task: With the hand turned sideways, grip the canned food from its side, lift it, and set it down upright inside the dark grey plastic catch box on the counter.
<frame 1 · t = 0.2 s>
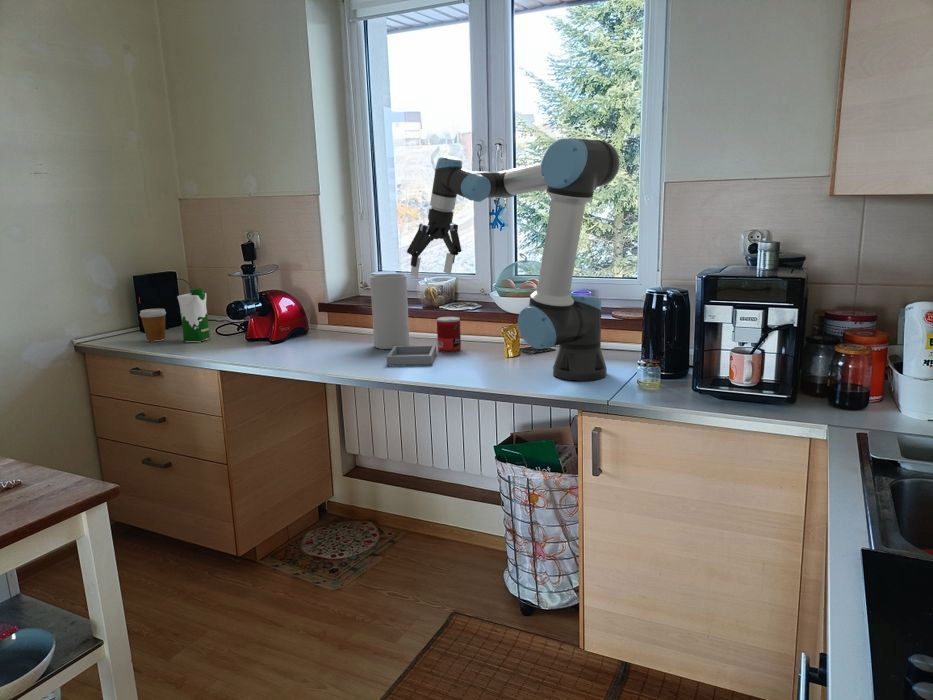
hand: (430, 274, 218), 27 cm above the countertop, tool tilted 15°, fingers open, 13 cm apart
catch box: (412, 359, 223), on the countertop
canned food: (449, 350, 236), on the countertop
disposable coffee cup: (156, 341, 268), on the countertop
milk carton: (197, 341, 266), on the countertop
cylinder vase: (391, 346, 245), on the countertop
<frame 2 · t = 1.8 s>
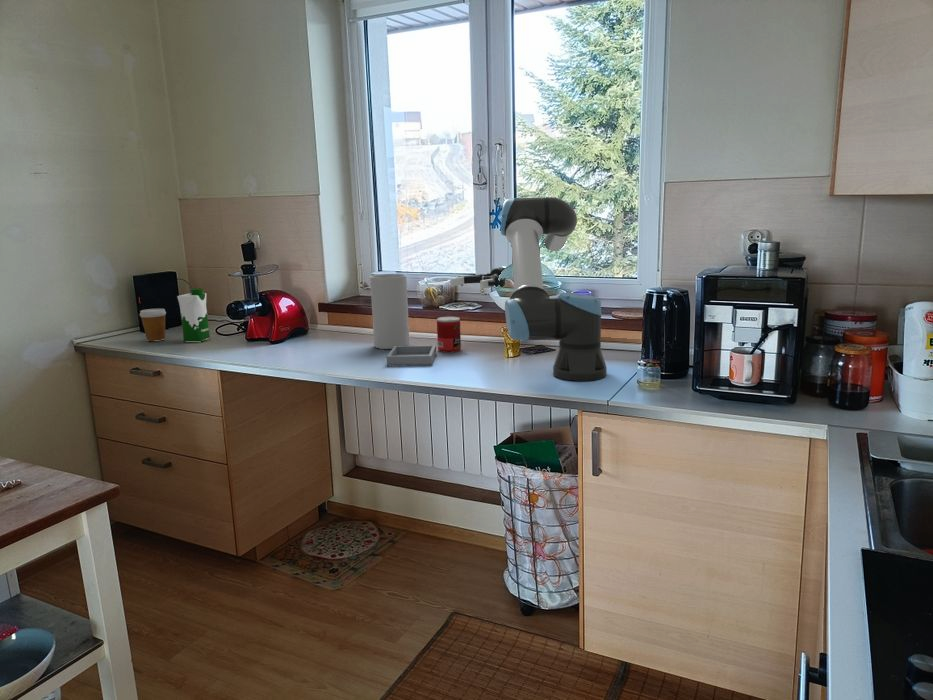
hand: (465, 283, 239), 22 cm above the countertop, tool horizontal, fingers open, 13 cm apart
nothing on the countertop moved.
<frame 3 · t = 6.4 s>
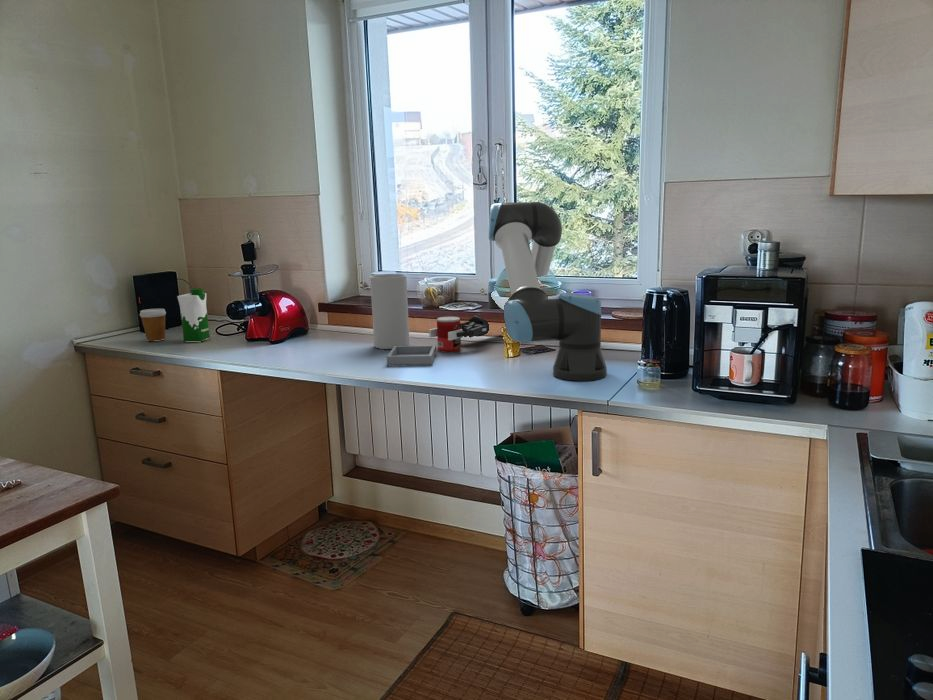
hand: (439, 335, 231), 6 cm above the countertop, tool horizontal, fingers closed on canned food, 8 cm apart
canned food: (449, 350, 236), on the countertop, touching gripper
everything else where it was.
when the fingers open (8 cm above the countertop, at t = 11.9 s): canned food drops 1 cm, resting on catch box.
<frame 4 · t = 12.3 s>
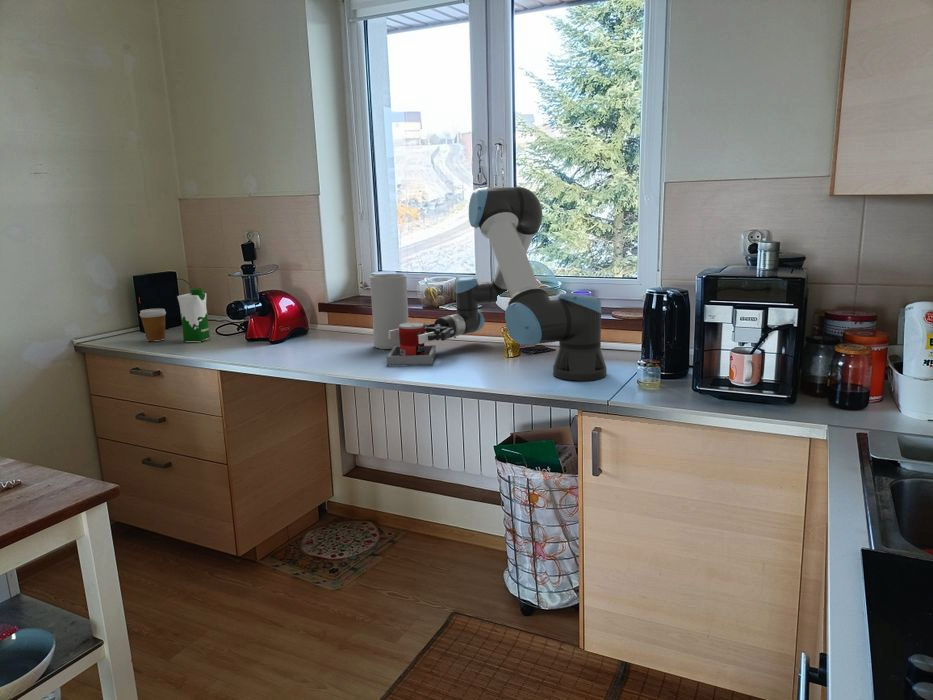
hand: (404, 337, 219), 8 cm above the countertop, tool horizontal, fingers open, 13 cm apart
canned food: (412, 358, 223), resting on catch box
everything else where it was.
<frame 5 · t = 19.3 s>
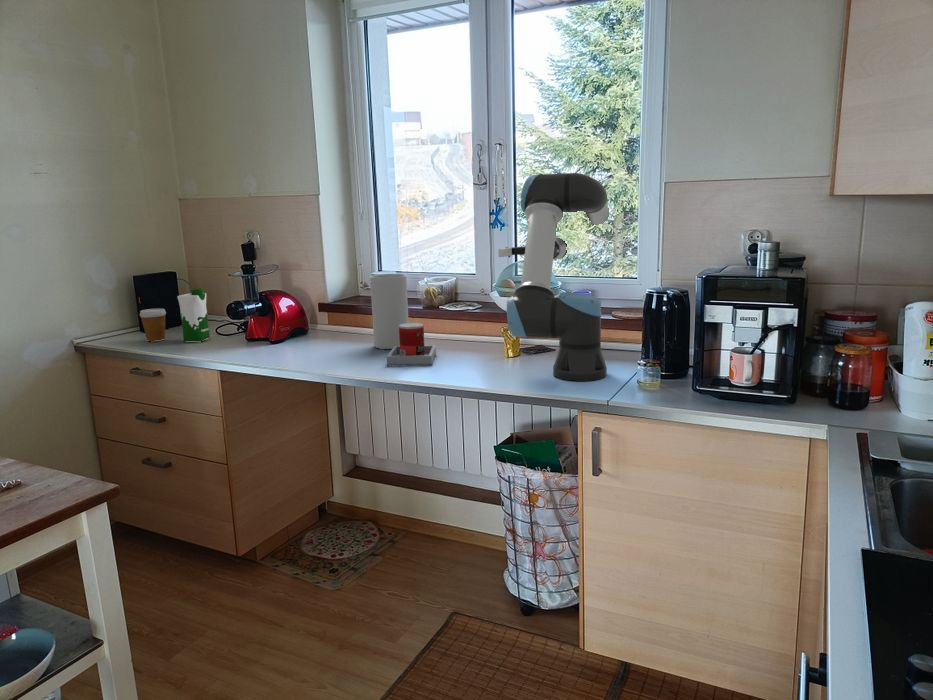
hand: (515, 253, 231), 32 cm above the countertop, tool horizontal, fingers open, 13 cm apart
nothing on the countertop moved.
at the end: canned food inside the target area on the catch box (0.1 cm from its centre), point 0.3 cm above the catch box's base; canned food tilted 0°; the gripper is holding nothing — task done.
